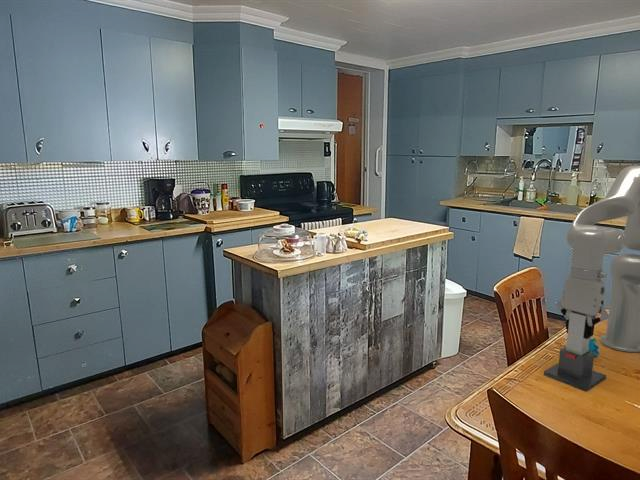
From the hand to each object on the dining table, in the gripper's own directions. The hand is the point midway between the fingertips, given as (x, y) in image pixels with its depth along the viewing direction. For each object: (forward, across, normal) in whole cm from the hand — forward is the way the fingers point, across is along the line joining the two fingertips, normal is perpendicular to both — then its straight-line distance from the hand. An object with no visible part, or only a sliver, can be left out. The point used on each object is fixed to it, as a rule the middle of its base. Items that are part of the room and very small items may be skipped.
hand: (578, 334), depth 127 cm
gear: (+14, +6, -20) cm, 25 cm away
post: (+7, 0, 0) cm, 7 cm away
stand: (+13, 0, 0) cm, 13 cm away
